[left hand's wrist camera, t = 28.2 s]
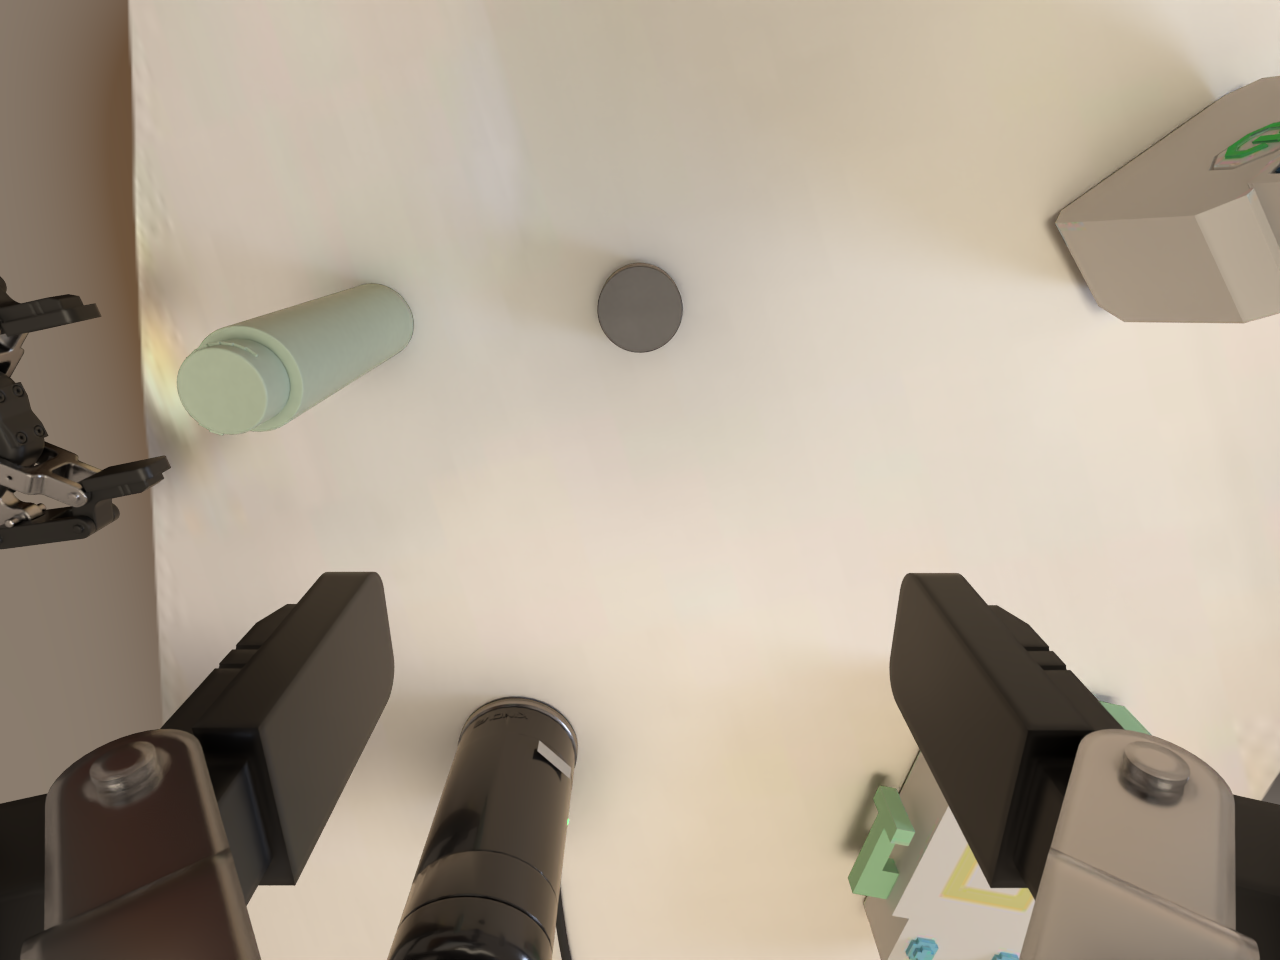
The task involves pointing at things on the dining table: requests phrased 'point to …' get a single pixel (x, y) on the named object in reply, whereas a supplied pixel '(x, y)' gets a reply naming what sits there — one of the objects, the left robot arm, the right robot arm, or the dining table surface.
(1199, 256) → the electronic device
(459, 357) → the dining table surface
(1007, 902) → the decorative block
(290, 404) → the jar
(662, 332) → the lid
